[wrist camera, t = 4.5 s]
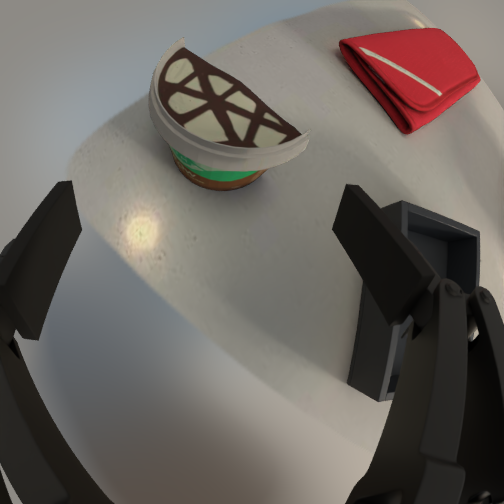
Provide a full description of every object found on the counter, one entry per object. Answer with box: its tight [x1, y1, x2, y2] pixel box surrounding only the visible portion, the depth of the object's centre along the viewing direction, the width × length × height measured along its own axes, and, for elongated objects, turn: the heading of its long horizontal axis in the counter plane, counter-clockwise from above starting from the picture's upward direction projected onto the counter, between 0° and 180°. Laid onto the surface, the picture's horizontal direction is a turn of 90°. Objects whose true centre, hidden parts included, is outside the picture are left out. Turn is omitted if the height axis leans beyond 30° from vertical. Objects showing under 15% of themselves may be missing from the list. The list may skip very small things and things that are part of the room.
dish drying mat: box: [339, 28, 480, 134], centre depth 33 cm, size 16×41×4 cm, turn 127°
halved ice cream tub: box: [149, 37, 311, 191], centre depth 20 cm, size 12×6×10 cm, turn 49°
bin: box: [347, 200, 480, 402], centre depth 25 cm, size 14×18×6 cm
